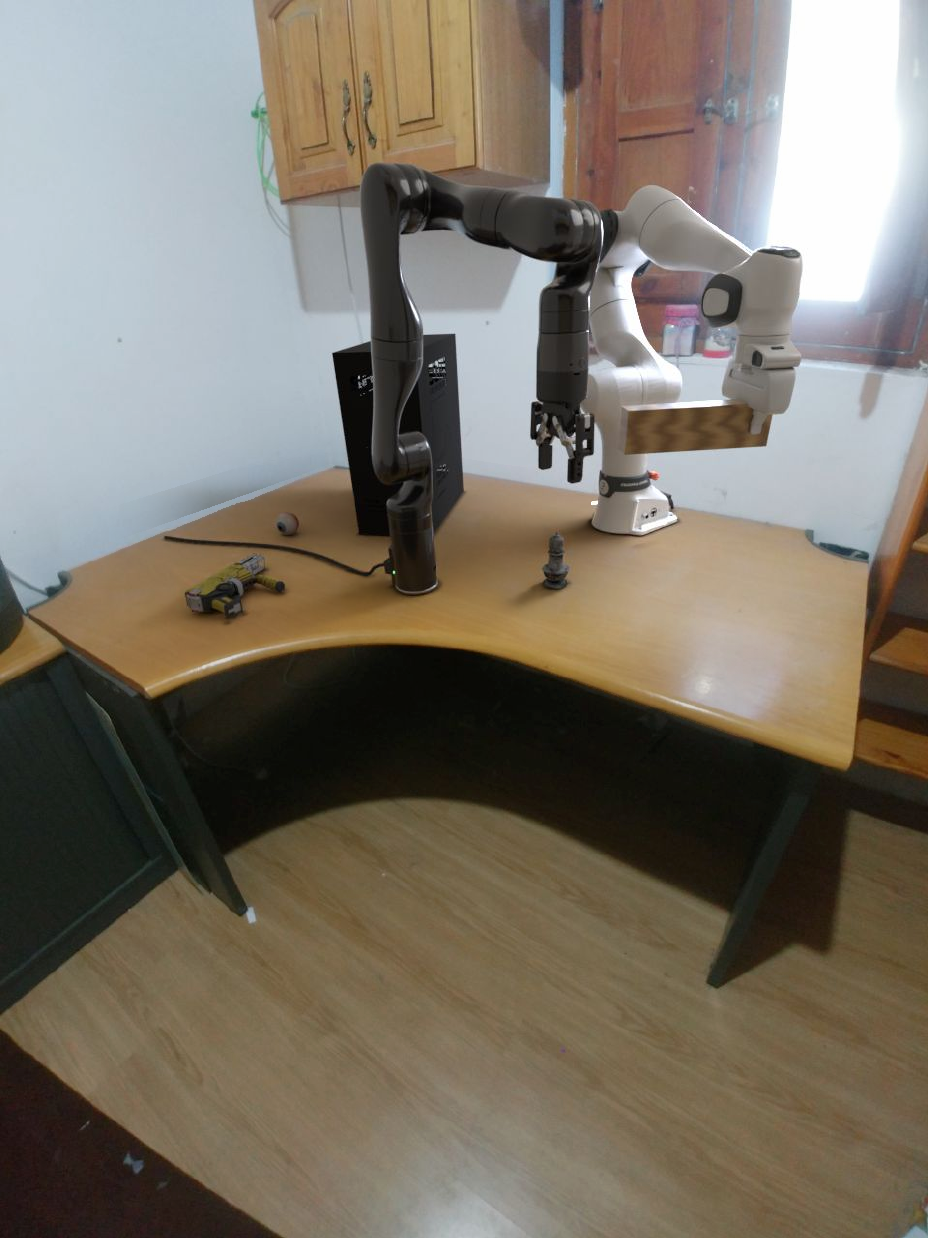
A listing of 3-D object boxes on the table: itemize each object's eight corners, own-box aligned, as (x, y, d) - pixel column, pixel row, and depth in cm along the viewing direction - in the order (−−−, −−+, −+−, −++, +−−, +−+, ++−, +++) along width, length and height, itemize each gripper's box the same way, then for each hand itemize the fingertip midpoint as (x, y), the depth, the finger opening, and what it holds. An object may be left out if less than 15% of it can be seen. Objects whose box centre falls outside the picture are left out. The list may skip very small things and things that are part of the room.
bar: (755, 440, 119) (763, 397, 115) (766, 446, 115) (775, 402, 111) (618, 448, 119) (621, 405, 115) (624, 454, 115) (628, 410, 111)
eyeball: (273, 537, 164) (268, 516, 161) (287, 528, 169) (282, 508, 166) (291, 539, 161) (286, 518, 158) (305, 530, 166) (301, 510, 163)
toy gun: (306, 561, 141) (251, 550, 144) (240, 606, 120) (179, 591, 124) (307, 580, 143) (253, 568, 147) (243, 626, 123) (183, 611, 127)
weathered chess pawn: (568, 589, 128) (570, 537, 122) (540, 588, 130) (541, 536, 124) (569, 577, 133) (571, 526, 127) (542, 576, 134) (543, 525, 128)
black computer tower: (431, 537, 158) (415, 350, 135) (358, 534, 162) (332, 352, 140) (463, 491, 189) (455, 333, 167) (402, 489, 194) (386, 335, 171)
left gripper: (515, 363, 92) (516, 468, 100) (567, 373, 80) (563, 491, 89) (557, 358, 94) (555, 461, 102) (613, 367, 83) (606, 482, 91)
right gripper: (719, 346, 118) (709, 419, 125) (769, 359, 100) (754, 443, 107) (751, 344, 118) (739, 417, 125) (807, 357, 100) (789, 441, 107)
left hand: (559, 475), depth 96 cm, fingers open, 8 cm apart
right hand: (746, 429), depth 116 cm, fingers closed on bar, 5 cm apart
